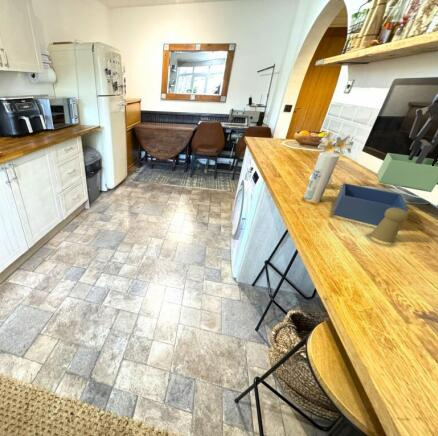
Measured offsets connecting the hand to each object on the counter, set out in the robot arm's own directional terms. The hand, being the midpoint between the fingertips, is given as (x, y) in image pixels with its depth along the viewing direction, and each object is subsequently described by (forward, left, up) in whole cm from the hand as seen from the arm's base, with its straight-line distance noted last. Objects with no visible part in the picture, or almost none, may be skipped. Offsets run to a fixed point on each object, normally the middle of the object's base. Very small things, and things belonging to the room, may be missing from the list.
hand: (414, 159), depth 88 cm
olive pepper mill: (+4, +32, -20) cm, 38 cm away
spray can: (+26, +12, -20) cm, 35 cm away
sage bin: (0, 0, -9) cm, 9 cm away
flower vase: (+25, -8, -20) cm, 33 cm away
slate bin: (+9, +16, -20) cm, 27 cm away
